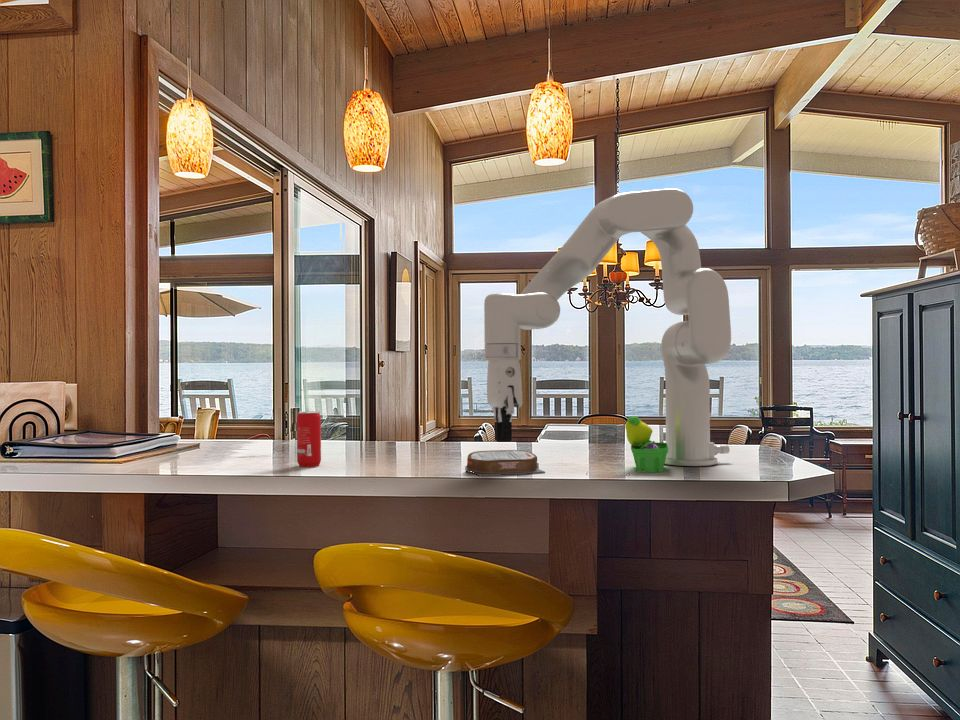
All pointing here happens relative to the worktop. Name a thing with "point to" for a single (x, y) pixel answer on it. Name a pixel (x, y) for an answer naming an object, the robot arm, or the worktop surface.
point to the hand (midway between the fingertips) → (503, 441)
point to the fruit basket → (645, 446)
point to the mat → (509, 473)
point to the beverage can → (309, 439)
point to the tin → (501, 461)
